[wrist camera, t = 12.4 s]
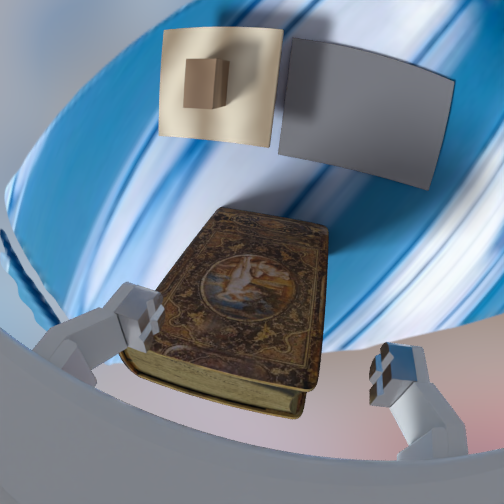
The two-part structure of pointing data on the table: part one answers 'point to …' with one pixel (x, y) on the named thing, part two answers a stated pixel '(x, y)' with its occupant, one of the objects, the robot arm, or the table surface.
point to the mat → (364, 112)
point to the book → (243, 314)
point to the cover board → (241, 86)
